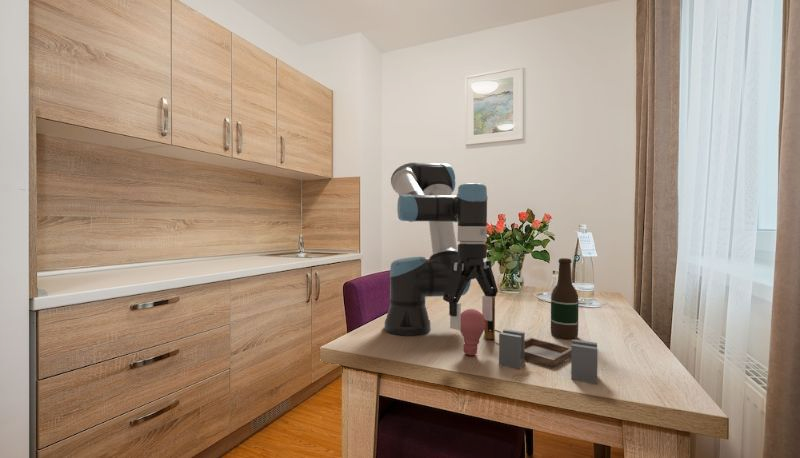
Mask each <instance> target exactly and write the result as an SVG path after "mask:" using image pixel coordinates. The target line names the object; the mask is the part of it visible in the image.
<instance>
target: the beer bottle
mask: <svg viewBox="0 0 800 458" xmlns="http://www.w3.org/2000/svg"><path fill="white" fill-rule="evenodd" d="M572 262H573V261H572V259H570V258H567V257H565V258H564V257H563V258H559V259H558V263H559V264H558V276H557V277H558V278H557V282H556V285H555V286H554V288H553V289H552V292H551V295H550V335H551V336H553V337H554V338H557V339H561V340H572V339H573V340H577V338H578V336H579V305H580V304H579V302H580V301H579V294H578V292H577V290H576V288H575V287H574V285H573V280H572V267H571V264H572Z"/></svg>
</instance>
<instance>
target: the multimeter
mask: <svg viewBox="0 0 800 458" xmlns="http://www.w3.org/2000/svg"><path fill="white" fill-rule="evenodd" d="M491 288H493V287H491ZM484 296H486V295H485V294H484ZM495 322H496V296H493V306H492V321H488V320H485V323H486V325H485V329H484V331H483V333H484V339H485V340H492V341H493V343H494V344H496V345H499V342H495V339H496V334H495V332H498V333H499V334H500V333H501V332H502V331H500V330H497V329H496V327H495V326H496V325H495V324H496V323H495Z"/></svg>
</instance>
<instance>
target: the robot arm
mask: <svg viewBox="0 0 800 458" xmlns="http://www.w3.org/2000/svg"><path fill="white" fill-rule="evenodd" d="M390 184H391V187H392V189H393V191H394V192H395V193H396V194H398V199H397V217H398V219H399V221H402V222H428V225H429V232H430V233H429V234H430V239H431V240H430V242H431V249H432V254H431V255H430V256H429V258H428V260H427V259H426V257H425V256H411V257H404V258H399V259H395V260H394V261H392V262H391V264H390V270H389V279H390V280H389V284H390V285H389V306H388V307H389V308H388V310H387V314H386V318H385V320H384V331H386V332H387V333H390V334H393V335H399V336H420V335H424V334H427V333H429V332H430V331H431V325H432V323H431V320H430V319H429V315H428V314H429V313H428V310H427V307H426V298H427V297H430V298H431V297H432V298H433V297H442V300H443V301H445V302H447V303H448V304H449V305H448V306H449V307H448V309H449V311H448V315H449V316H450V319H449V328H450V329H453V330H456V331H460V330H461V313H462V310H461V309H462V305H461V302H459V301H460V299H461V297H462V296H465V295H466V294H467V293H468V292H469V290H470V287H471V281H472V280H475V279H476V281H477V283H478V285H479V287H480V289H481V290H482V292H483V294H484V295H482V297H481V299H482V302H481V303H482V309H481V310H482V312H481V314H482V315H483V316H484V318H485V320H488V321H492V306H493V296H495V297H497V294H498V291H499V290H498V289H499V288H498V287H497V283H496V280H495V276H494V272H493V268H492V262H491V260H489V259H488V260H487V259H486V258H488V245H487V244H486V242H487V241H488V236H487V235H488V234H487V233H488V229H487V227H488V219H487V218H488V199H489V197H488V192H487V191H488V190H487V186H486V185H485V184H483V183H478V182H477V183H471V182H469V183H462V184H459V186H458V187H457V194H456V195H453V192H454V191H455V189H456V174H455V170H454V168H453V167H452V165H450V164H448V163H441V162H438V163H428V162H408V163H404V164H402V165H400V166H399V167H397V168H396V169H395V170H394V171H393V173H392V174H391V177H390ZM454 223H457V238H456V234H455V233H456V232H455V229H454ZM456 239H457V240H456ZM457 242H459V243H458V244H457ZM491 287H492V288H491ZM485 295H486V296H485Z"/></svg>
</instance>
